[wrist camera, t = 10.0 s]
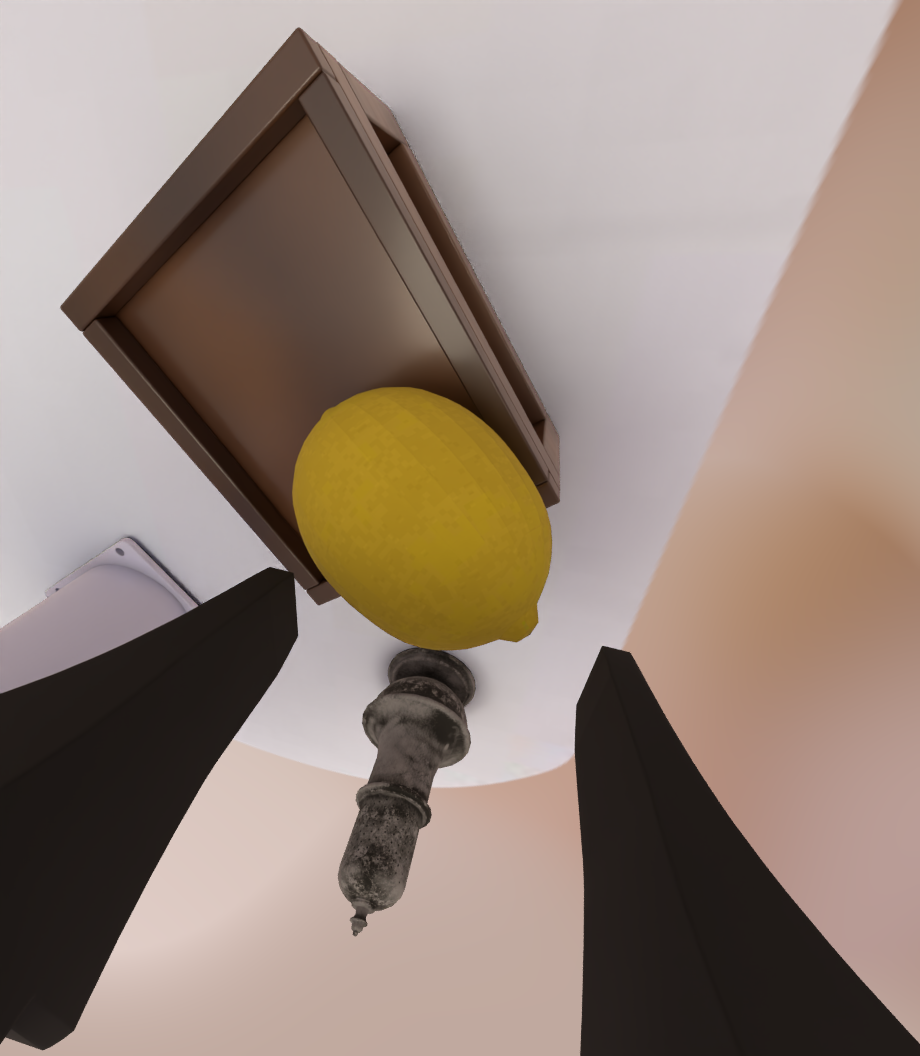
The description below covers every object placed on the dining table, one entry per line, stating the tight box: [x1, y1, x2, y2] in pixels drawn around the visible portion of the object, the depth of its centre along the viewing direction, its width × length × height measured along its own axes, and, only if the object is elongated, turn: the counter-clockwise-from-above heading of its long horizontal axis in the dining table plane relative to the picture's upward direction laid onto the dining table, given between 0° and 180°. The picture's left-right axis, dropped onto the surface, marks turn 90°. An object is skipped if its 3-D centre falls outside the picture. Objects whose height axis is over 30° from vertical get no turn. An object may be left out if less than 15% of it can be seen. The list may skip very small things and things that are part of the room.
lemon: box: [292, 387, 552, 650], centre depth 12 cm, size 6×6×8 cm
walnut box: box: [60, 28, 560, 605], centre depth 16 cm, size 10×12×6 cm
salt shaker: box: [338, 648, 475, 936], centre depth 22 cm, size 6×6×12 cm
